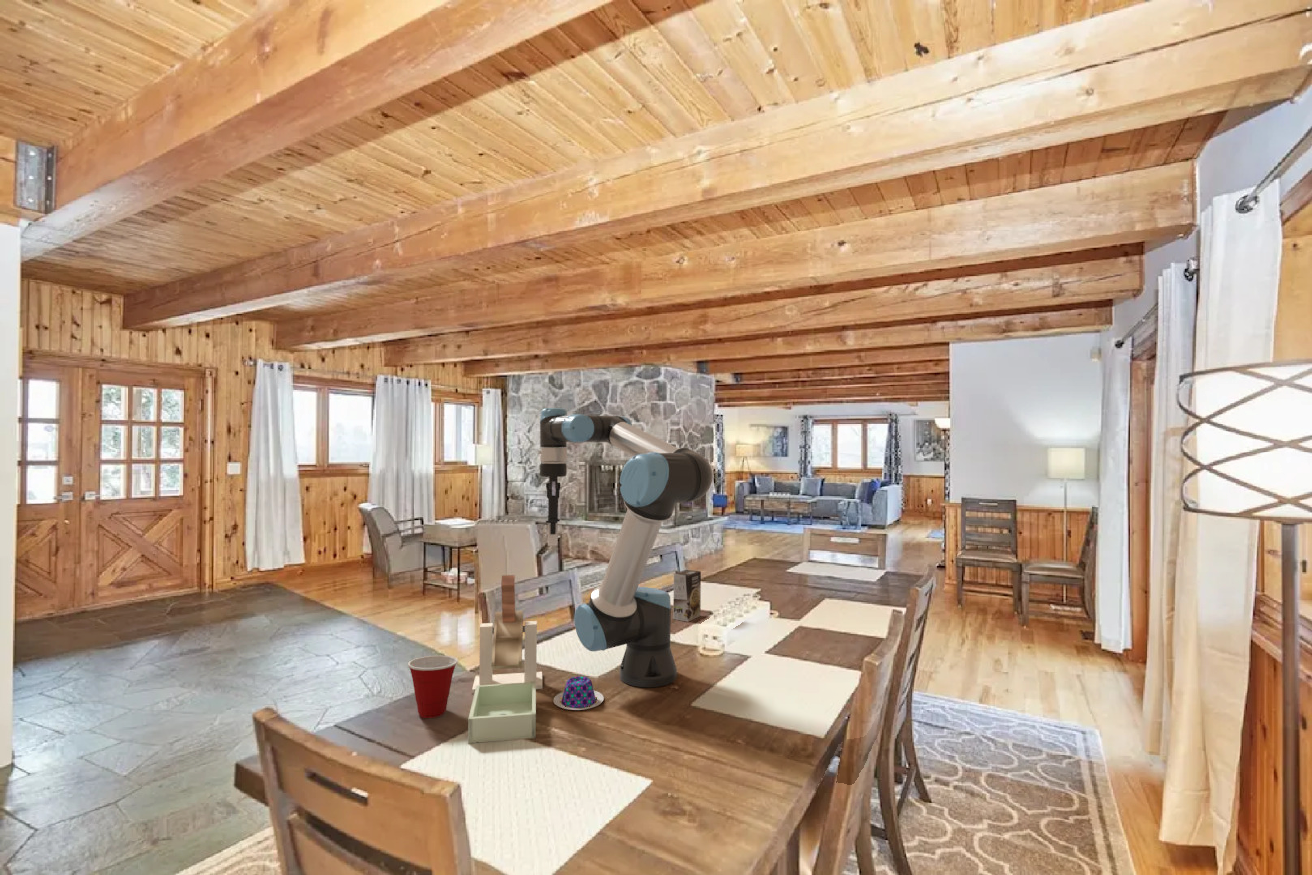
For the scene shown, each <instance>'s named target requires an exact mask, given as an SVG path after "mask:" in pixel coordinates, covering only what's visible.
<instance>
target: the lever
mask: <svg viewBox="0 0 1312 875" xmlns="http://www.w3.org/2000/svg"><path fill="white" fill-rule="evenodd" d="M515 578H516V577H515V574H510V575H509V574H508V575H507V574H506V575H505V574H504V575H501V590H500V591H501V610H502V611H495V612H494V622H493V627H494V634H493V650H492V665H491V668H492V669H493V670H505V669H507V670H508V669H520V668H523V666H522V665H523V638H524V637H523V636H524V635H523V633H524V632H523V626H524V610H516V593H515V592H516V591H515V590H516V584H515V583H516V580H515Z"/></svg>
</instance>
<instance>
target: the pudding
mask: <svg viewBox="0 0 1312 875" xmlns="http://www.w3.org/2000/svg"><path fill="white" fill-rule="evenodd" d="M560 697H562V700H561V699H560ZM595 697H597V700H596V698H595ZM604 700H605V697H604V695H603V694H602V692H600V691H597V690H594V686H593V682H592V680H591V679H590V678H588V677H587V676H572V677H571V678H569V679H567V680H566V682H565V687H564V690H563V691H561V692H560V693H557V694H556V695H555V696H554V698H553V703H554V705H556V706H557V707H559V708H562V709H565V710H570V711H571V710H572V711H573V710H574V711H581V710H583V711H584V710H589V709H592V708H595V707H597V706H599V705H601V704H602V703H603V701H604ZM559 701H561V703H560V702H559ZM596 701H598V702H597V703H595V702H596ZM565 706H566V707H565ZM587 706H588V707H587ZM589 706H590V707H589Z"/></svg>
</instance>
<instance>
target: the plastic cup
mask: <svg viewBox="0 0 1312 875" xmlns="http://www.w3.org/2000/svg"><path fill="white" fill-rule="evenodd" d="M458 662H459V659H458V658H457V657H455V656H451V655H450V656H449V655H427V656H423V657H417V658H414V659H412V660H410V661H408V663H407V666H408V668H409V670H410V673H411V678H412V684H413V691H414V697H415V702H416V707H417V708H416V709H417V712H418V715H419V718H423V719H434V718H438V717H441V716H443V715H444V714H445V713H446V710H447V706H448V700H449V696H450V690H451V686H452V679H453V675H454V672H455V668H456V665H457V663H458Z"/></svg>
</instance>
